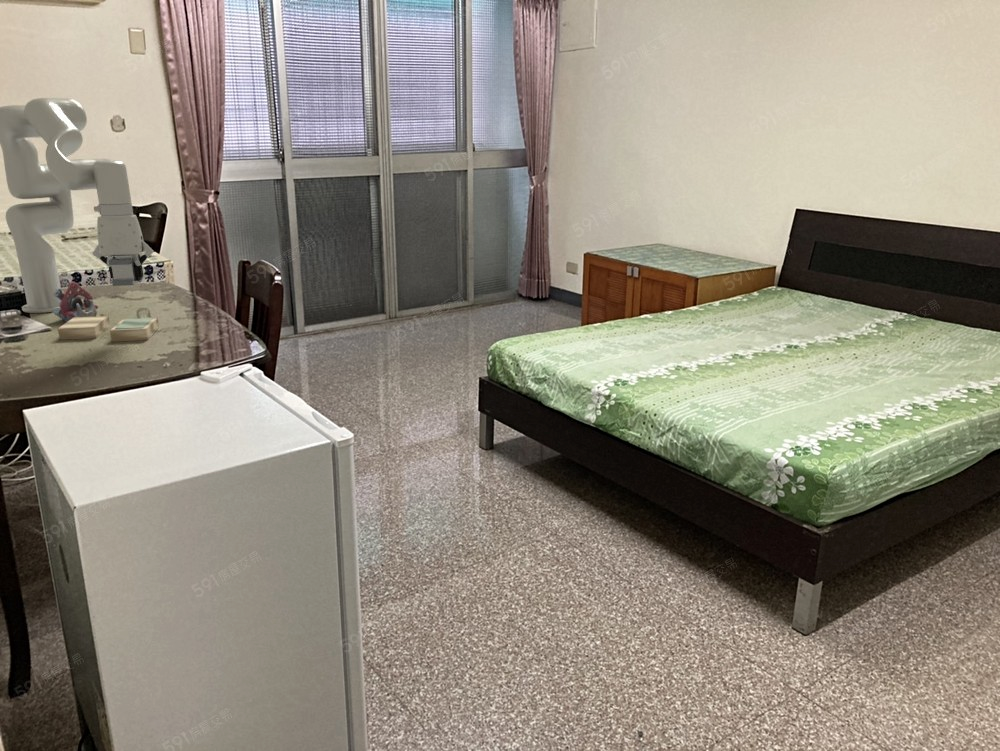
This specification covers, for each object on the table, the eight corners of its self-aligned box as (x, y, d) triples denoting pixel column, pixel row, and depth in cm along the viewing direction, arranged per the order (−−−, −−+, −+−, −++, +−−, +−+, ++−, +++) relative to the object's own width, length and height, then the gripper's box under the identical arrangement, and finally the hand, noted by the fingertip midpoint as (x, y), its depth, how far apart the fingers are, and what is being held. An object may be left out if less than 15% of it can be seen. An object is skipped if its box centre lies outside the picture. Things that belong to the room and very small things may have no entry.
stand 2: (124, 329, 211) (123, 318, 210) (159, 328, 212) (157, 316, 211) (111, 341, 200) (109, 329, 199) (147, 339, 201) (146, 328, 200)
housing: (123, 279, 205) (119, 254, 203) (142, 278, 206) (138, 254, 204) (112, 285, 197) (108, 260, 194) (133, 285, 197) (129, 259, 195)
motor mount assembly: (81, 317, 214) (54, 282, 213) (61, 337, 218) (34, 303, 217) (111, 308, 224) (86, 274, 223) (92, 327, 229) (67, 295, 228)
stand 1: (75, 327, 212) (73, 317, 211) (110, 326, 214) (108, 316, 213) (59, 339, 201) (57, 328, 200) (96, 338, 203) (94, 327, 202)
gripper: (75, 213, 190) (88, 284, 196) (147, 211, 193) (158, 282, 199) (86, 209, 197) (98, 278, 203) (155, 208, 200) (165, 276, 206)
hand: (127, 279), depth 201 cm, fingers closed on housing, 5 cm apart
